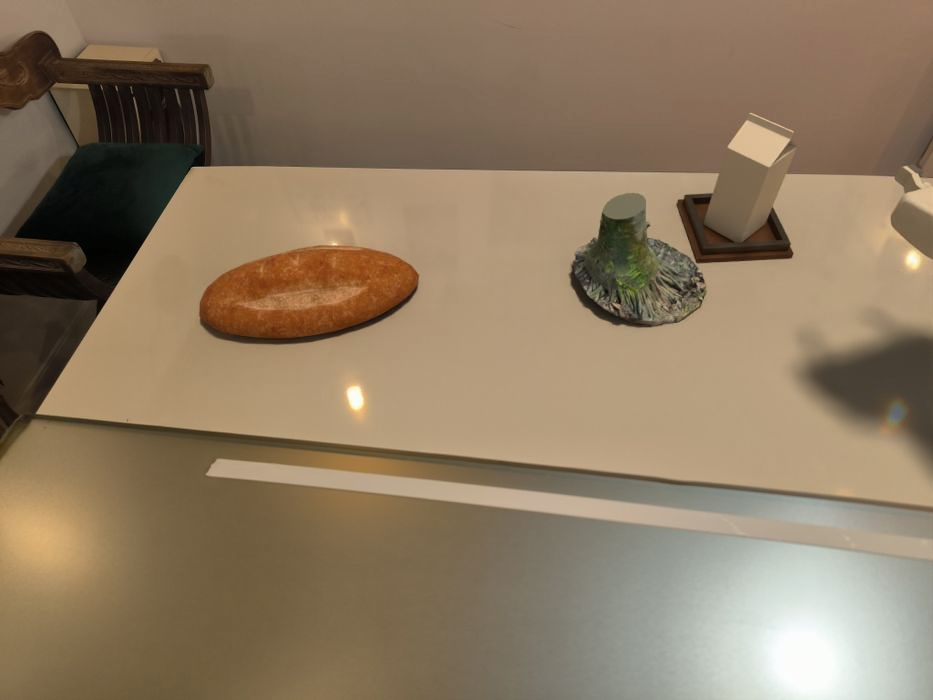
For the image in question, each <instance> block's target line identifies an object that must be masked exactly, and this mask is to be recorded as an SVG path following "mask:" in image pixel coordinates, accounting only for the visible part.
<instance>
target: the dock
mask: <svg viewBox="0 0 933 700" xmlns="http://www.w3.org/2000/svg"><path fill="white" fill-rule="evenodd" d="M712 194H713V192H708V193H691V194H690V193H689V194H684V196H683V198H682V199H681V198H680V199H677V200H676V201H677V202H676V205H677V208H678V212H679V214H680V217H681V220H682V222H683V226H684V229H685V231H686V234H687V237H688V240H689V243H690V246H691V248H692V252H693V254H694V255H693V256H694V258H695V261H696V263H697V264H701V263H702V264H703V263H704V264H705V263H719V262H720V263H721V262H739V261H759V260H777V259H778V260H781V259H792V258H793V256H794V254H795V253H794V251H793V249H792V247H791V245H792V243H791V241H790V239H789V237H788V234H787V232H786V230H785V228H784V226H783V224H782V222H781V219H780V218H779V216H778V215H777V212H776V210H775V208H774V206H773V207H772V209H771V211H770V214H769V216H768V218H767V221H766V223H765V225H764V226H762V227H761V228H760V229H759V230H757V231H756V232H755V233H754V234H752V235H751V236H750V237H748V238H747V239H746V240H745V241H743V242H738V243H735V242H733V241H732V240H730V239H728V238H726V237H725V236H723V235H721V234H719V233H717V232H716V231H714V230H712V229H710V228H709V227H707V226H705V225H704V224H703V223H704V220H705V217H706V214H707V210H708V207H709V204H710V201H711V198H712Z"/></svg>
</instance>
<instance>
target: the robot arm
mask: <svg viewBox="0 0 933 700" xmlns="http://www.w3.org/2000/svg"><path fill="white" fill-rule="evenodd" d="M923 173H924V170H923V169H921V168H920V167H917V165H916V164H915V163H911V164H907V165H903V166H900V167H899V168H898V169H897V171H896V173H895V175H894V181H895V182H897V183H898V184H899V185H900V186H902V187H903V192H904V194H903V195H902V196H901V197H900V199H899V201H898V202H897V204H896V205H895V207H894V208H893V210H892V212H891V214H890V226H891V227H892V228H893V229H894V231H896V233H898V234H899V236H901V237H902V238H903V239H904V240H905V241H906V242H907V243H909V244H910V245H911V246H912V247H913V248H915V250H917V251H919V252H920V253H921V254H922V255H924V256H925V257H927V258H929V260H932V261H933V184H931V183H930V182H928V181H925V182H923V181H922V179H921V176H922V175H923Z"/></svg>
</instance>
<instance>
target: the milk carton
mask: <svg viewBox="0 0 933 700" xmlns="http://www.w3.org/2000/svg"><path fill="white" fill-rule="evenodd" d="M794 133H795V132H794V131H793V130H792V129H789V128H787V127H785V126H782V125H780V124H778V123H777V122H776V123H775V122H772V121H770V120H768V119H766V118H763V117H761V116H760V115H757V114H755V113H753V112H748V115H747V117H746V120H745V122H744V123H743V124H742V126H741V128H739V130H738V131H737V133H736V134H735V135H734V136H733V138H732V140H731V141H730V142H729V144H728V145H727V147H726V150H725V153H724V156H723V160H722V163H721V166H720V169H719V173H718V176H717V179H716V182H715V185H714V188H713V192H712V193H713V194H712V198H711V201H710V204H709V207H708V210H707V214H706V217H705V220H704V223H703V224H704V225H705V226H707V227H709V228H710V229H712V230H714V231H716V232H717V233H719V234H721V235H723V236H725V237H726V238H728V239H730V240H732V241H733V242H735V243H738V242H743V241H745V240H746V239H747V238H748V237H750V236H751V235H752V234H754V233H755V232H756V231H757V230H759V229H760V228H761V227H762V226H764V225H765V223H766V221H767V218H768V216H769V214H770V211H771V209H772V207H773V208H774V204H775V202H776V199H777V197H778V195H779V192H780V190H781V187H782V184H783V182H784V180H785V178H786V175H787V173H788V170H789V169H790V166H791V164H792V161H793V159H794V156H795V154H796V151H797V148H798V145H797V144H796V143H795V141H794V139H792V138H793V136H794Z"/></svg>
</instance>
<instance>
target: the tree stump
mask: <svg viewBox="0 0 933 700" xmlns="http://www.w3.org/2000/svg"><path fill="white" fill-rule="evenodd" d="M646 209H647V200H646V198H645V196H644V195H643V194H640V193H638V192H626V193H621V194H619V195H616V196H613V197H612V198H610V200H608V201H607V202H606V203H605V204H604V206H603V208H602V211H601V216H600V220H599V230H598V235H597V238H596V237H595V236H594V237H592V239H591V240H590V242H588V243H587V244H586V245H583V246H579V247H578V248H577V249H576V250H575V252H574V260H572V264H573V268H574V274H575V277H576V278H577V280H578V281H579V283H580V285H581V286H582V289H583V290H584V291H585V293H586V295H587V296H588V297H589V298H590V299H592V300H593V302H595V303H596V304H597V305H598V306H599V307H601V308H602V309H603V310H605V311H606V312H608V313H610V314H612V315H614V316H615V317H618V318H619V319H622V320H624V321H626V322H628V323H634V324H640V325H646V326H652V327H656V326H659V325H663V324H675V323H680V322H682V321H683V320H684V319H685V318H687V317H688V316H690V315H691V314H693V313H694V312H696V311H697V310H699V309H700V308H701V306H702V304H703V301H704V298H705V297H706V295H707V293H708V291H707V284H706V281H705V278H704V274H703V272H702V271H701V270H700V268H699V267H698V266H697V264H696V263H695V262H694V260H693V259H692V258H691V257H690V256H689V255H687V254H685V253H684V252H681V251H679V250H678V249H677V248H675V247H674V246H671V244H669V243H667V242H664V241H662V240H661V239H656V238H653V237H648V228H649V227H651V222H650V221H649V220H647V210H646Z"/></svg>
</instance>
